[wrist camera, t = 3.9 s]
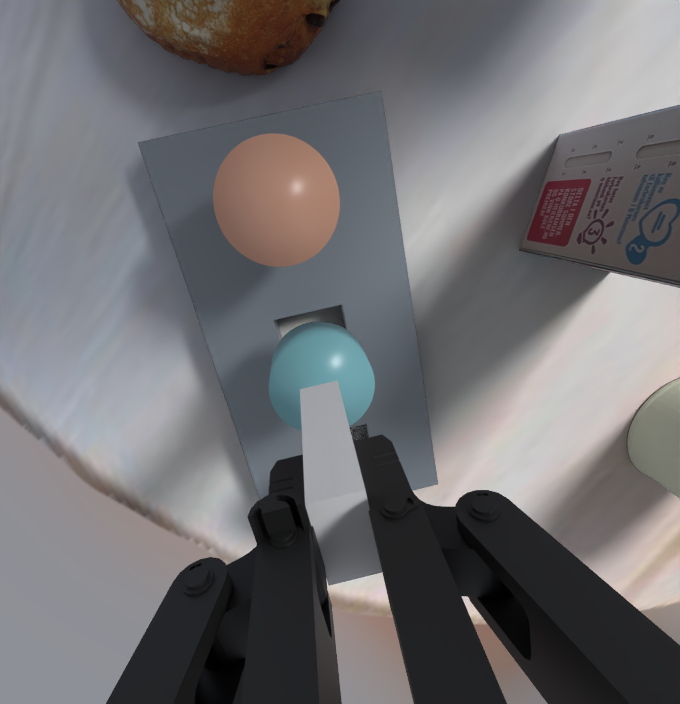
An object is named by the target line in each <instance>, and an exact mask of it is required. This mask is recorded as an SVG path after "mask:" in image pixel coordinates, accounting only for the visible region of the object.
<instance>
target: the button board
mask: <svg viewBox="0 0 680 704" xmlns="http://www.w3.org/2000/svg"><path fill="white" fill-rule="evenodd" d="M269 133H274V134H284V135H289V136H292V137H295V138H298V139H300V140H302V141H304V142H306V143H307V144H309V145H310V146H312V147H313V148H314V149H315V150H316V151H318V152H319V154H320V155H321V156H322V157H323V158H324V159H325V161H326V162H327V163H328V165H329V166H330V168H331V170H332V172H333V174H334V176H335V179H336V182H337V185H338V189H339V196H340V211H339V217H338V222H337V225H336V228H335V230H334V232H333V234H332V236H331V238H330V240H329V241H328V242H327V244H326V245H325V246H324V247H323V248H322V249H321V251H319V252H318V253H317V254H316V255H315V256H313V257H312V258H310V259H308V260H307V261H304V262H302V263H300V264H296V265H293V266H286V267H273V266H267V265H263V264H260V263H257V262H254V261H252V260H250V259H249V258H247V257H245V256H244V255H242V254H241V253H240V252H239V251H237V250H236V249H235V248H234V247H233V246H232V245H231V244H230V242H229V241H228V240H227V238H226V237H225V236H224V234H223V232H222V230H221V228H220V226H219V224H218V221H217V219H216V215H215V211H214V204H213V189H214V182H215V179H216V175H217V172H218V170H219V168H220V166H221V164H222V162H223V161H224V159H225V158H226V156H227V155H228V154H229V153H230V152H231V151H232V150H233V149H234V148H235V147H236V146H237V145H239V144H240V143H242V142H243V141H245V140H247V139H249V138H252V137H254V136H258V135H262V134H269ZM138 144H139V147H140V150H141V153H142V156H143V159H144V162H145V165H146V168H147V171H148V173H149V176H150V179H151V182H152V185H153V188H154V191H155V194H156V197H157V200H158V203H159V206H160V209H161V212H162V214H163V217H164V220H165V223H166V226H167V229H168V232H169V235H170V238H171V241H172V244H173V247H174V250H175V252H176V255H177V258H178V261H179V264H180V267H181V270H182V273H183V276H184V279H185V282H186V285H187V288H188V290H189V293H190V296H191V299H192V302H193V305H194V308H195V311H196V314H197V317H198V320H199V323H200V326H201V329H202V331H203V334H204V337H205V340H206V343H207V346H208V349H209V352H210V355H211V358H212V361H213V364H214V367H215V369H216V372H217V375H218V378H219V381H220V384H221V387H222V390H223V393H224V396H225V399H226V402H227V405H228V407H229V410H230V413H231V416H232V419H233V422H234V425H235V428H236V431H237V434H238V437H239V440H240V443H241V446H242V448H243V451H244V454H245V457H246V460H247V463H248V466H249V469H250V472H251V475H252V478H253V481H254V484H255V486H256V489H257V492H258V495H259V498H260V500H261V499H262V498H264V497H265V496H267V495H268V494H269V485H270V484H269V479H270V471H271V470H272V468H273V466H274V465H275V463H276V462H277V460H281V459H286V458H290V457H294V456H298V455H302V454H303V448H302V431H299V430H297V429H295V428H293V427H291V426H290V425H288V424H287V423H286V422H284V421H283V420H282V419H281V418H280V417H279V415H278V414H277V413H276V411H275V409H274V407H273V405H272V403H271V400H270V396H269V378H270V370H271V362H272V357H273V354H274V351H275V349H276V347H277V345H278V343H279V342H280V340H281V339H282V336H281V333H280V329H279V325H278V322H277V319H281V318H285V317H290V316H294V315H299V314H303V313H307V312H312V311H316V310H321V309H325V308H329V307H334V306H338V305H340V307H341V312H342V317H343V322H344V326H345V329H347V330H348V331H349V332H351V333H352V334H353V335H354V336H355V337H356V338H357V340H358V341H359V343H360V344H361V346H362V348H363V350H364V352H365V354H366V357H367V359H368V361H369V363H370V365H371V367H372V370H373V373H374V379H375V390H374V395H373V399H372V401H371V404H370V406H369V407H368V409H367V411H366V412H365V413H364V414H363V416H362V417H361V418H360V419H359V420H358V421H356V422H355V423H354V424H352V425H351V426H349V428H352V427H356V426H360V425H364V424H365V426H366V431H367V436H368V438H369V437H373V436H377V435H384V436H385V437H386V438H388V439H389V440H390V441H392V443H393V446H394V448H395V451H396V453H397V455H398V458H399V461H400V463H401V465H402V467H403V470H404V472H405V475H406V477H407V479H408V482H409V484H410V487H411V489H412V490H416V489H420V488H425V487H429V486H433V485H437V484H438V480H437V473H436V466H435V459H434V452H433V445H432V439H431V432H430V425H429V418H428V411H427V404H426V397H425V390H424V383H423V376H422V369H421V362H420V355H419V348H418V342H417V335H416V328H415V321H414V314H413V307H412V300H411V293H410V286H409V279H408V272H407V265H406V258H405V252H404V245H403V238H402V231H401V224H400V217H399V210H398V203H397V196H396V189H395V182H394V175H393V168H392V162H391V155H390V148H389V141H388V134H387V127H386V120H385V113H384V106H383V99H382V92H381V91H378V92H374V93H369V94H364V95H360V96H355V97H350V98H345V99H341V100H336V101H331V102H327V103H322V104H317V105H312V106H308V107H303V108H298V109H294V110H289V111H284V112H280V113H275V114H270V115H265V116H261V117H256V118H251V119H247V120H242V121H237V122H232V123H228V124H223V125H218V126H214V127H209V128H204V129H199V130H195V131H190V132H185V133H181V134H176V135H171V136H166V137H162V138H157V139H152V140H148V141H143V142H138Z"/></svg>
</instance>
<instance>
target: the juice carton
mask: <svg viewBox="0 0 680 704" xmlns="http://www.w3.org/2000/svg"><path fill="white" fill-rule="evenodd" d="M519 250H520V251H524V252H528V253H533V254H537V255H541V256H545V257H549V258H554V259H558V260H562V261H566V262H570V263H574V264H579V265H583V266H587V267H591V268H595V269H600V270H604V271H608V272H612V273H617V274H621V275H626V276H630V277H634V278H639V279H643V280H648V281H652V282H656V283H661V284H665V285H670V286H674V287H679V288H680V105H677V106H673V107H669V108H665V109H660V110H656V111H652V112H648V113H644V114H640V115H636V116H632V117H628V118H624V119H620V120H616V121H612V122H608V123H604V124H600V125H596V126H592V127H588V128H584V129H580V130H576V131H572V132H568V133H564V134H560V136H559V139H558V141H557V144H556V147H555V150H554V153H553V156H552V158H551V161H550V164H549V167H548V170H547V172H546V175H545V178H544V181H543V184H542V187H541V189H540V192H539V195H538V198H537V201H536V204H535V206H534V209H533V212H532V215H531V218H530V221H529V223H528V226H527V229H526V232H525V235H524V238H523V240H522V243H521V246H520V249H519Z"/></svg>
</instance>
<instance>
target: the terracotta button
mask: <svg viewBox="0 0 680 704" xmlns="http://www.w3.org/2000/svg"><path fill="white" fill-rule="evenodd" d="M213 204H214V211H215V215H216V219H217V221H218V224H219V226H220V228H221V230H222V232H223V234H224V236H225V237H226V238H227V240H228V241H229V242H230V244H231V245H232V246H233V247H234V248H235V249H236V250H237V251H239V252H240V253H241V254H242V255H244V256H245V257H247V258H249V259H250V260H252V261H254V262H257V263H260V264H263V265H267V266H273V267H286V266H293V265H296V264H300V263H302V262H304V261H307V260H308V259H310V258H312V257H313V256H315V255H316V254H317V253H318V252H319V251H321V249H322V248H323V247H324V246H325V245H326V244H327V242H328V241H329V240H330V238H331V236H332V234H333V232H334V230H335V228H336V225H337V222H338V217H339V211H340V196H339V189H338V185H337V182H336V179H335V176H334V174H333V172H332V170H331V168H330V166H329V165H328V163H327V162H326V161H325V159H324V158H323V157H322V156H321V155H320V154H319V152H318V151H316V150H315V149H314V148H313V147H312V146H310V145H309V144H307V143H306V142H304V141H302V140H300V139H298V138H295V137H292V136H289V135H284V134H274V133H269V134H262V135H258V136H254V137H252V138H249V139H247V140H245V141H243V142H242V143H240V144H239V145H237V146H236V147H235V148H234V149H233V150H232V151H231V152H230V153H229V154H228V155H227V156H226V158H225V159H224V161H223V162H222V164H221V166H220V168H219V170H218V172H217V175H216V179H215V182H214V189H213Z"/></svg>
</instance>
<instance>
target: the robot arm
mask: <svg viewBox="0 0 680 704" xmlns="http://www.w3.org/2000/svg"><path fill="white" fill-rule="evenodd" d="M300 402H301V425H302V448H303V454H302V455H298V456H294V457H290V458H286V459H281V460H277V462H276V463H275V465H274V466H273V468H272V470H271V471H270V479H269V484H270V485H269V494H268V495H267V496H265V497H264V498H262V499H261V500H259V501H258V502H257V503H256V504H255V505H254V506H253V507H252V508H251V510H250V512H249V515H248V520H249V522H250V525H251V528H252V531H253V533H254V536H255V539H256V542H257V546H256V547H255V548H254V549H253V550H252V551H251V552H249V553H248V554H246V555H245V556H243V557H241V558H240V559H238V560H236V561H234V562H232V563H230V564H228V565H226V564H225V563H224V562H223V561H222V560H220V559H219V558H212V557H209V558H205V559H200V560H198V561H196V562H194V563H192V564H190V565H189V566H188V567H186V568H185V569H184V570H183V571H182V572H180V573H179V575H178V576H177V577H176V579H175V580H174V581H173V583H172V585H171V587H170V588H169V590H168V592H167V594H166V596H165V598H164V600H163V601H162V603H161V605H160V607H159V608H158V610H157V612H156V614H155V616H154V618H153V619H152V621H151V623H150V625H149V627H148V628H147V630H146V632H145V634H144V636H143V637H142V639H141V641H140V643H139V645H138V646H137V648H136V650H135V652H134V654H133V656H132V657H131V659H130V661H129V663H128V665H127V666H126V668H125V670H124V672H123V674H122V675H121V677H120V679H119V681H118V683H117V684H116V686H115V688H114V690H113V692H112V694H111V696H110V697H109V699H108V701H107V703H106V704H342V703H341V693H340V684H339V673H338V664H337V654H336V644H335V634H334V624H333V614H332V605H331V601H330V598H329V594H328V591H327V581H328V585H333V584H337V583H341V582H345V581H349V580H353V579H357V578H361V577H365V576H369V575H373V574H377V573H381V572H383V576H384V581H385V585H386V589H387V594H388V598H389V603H390V607H391V612H392V614H393V619H394V623H395V627H396V631H397V635H398V639H399V643H400V648H401V652H402V656H403V660H404V664H405V668H406V672H407V676H408V681H409V685H410V689H411V693H412V697H413V702H414V704H507V703H506V701H505V698H504V696H503V694H502V691H501V689H500V687H499V684H498V682H497V680H496V677H495V675H494V672H493V670H492V668H491V665H490V663H489V661H488V658H487V656H486V654H485V651H484V649H483V646H482V644H481V642H480V639H479V637H478V635H477V632H476V630H475V628H474V625H473V623H472V621H471V618H470V616H469V614H468V611H467V609H466V606H465V604H464V602H463V599H462V597H461V596H468V597H469V599H470V601H471V603H472V604H473V605H474V607H475V608H476V609H477V610H478V612H479V613H480V614H481V616H482V617H483V618H484V620H485V621H486V622H487V624H488V625H489V626H490V628H491V629H492V630H493V632H494V633H495V634H496V635H497V637H498V638H499V640H500V641H501V642H502V643H503V645H504V646H505V647H506V649H507V650H508V652H509V653H510V654H511V655H512V657H513V658H514V659H515V661H516V662H517V663H518V665H519V666H520V667H521V669H522V670H523V671H524V672H525V674H526V675H527V676H528V678H529V679H530V681H531V682H532V683H533V685H534V686H535V687H536V689H537V690H538V691H539V692H540V694H541V695H542V697H543V698H544V699H545V700H546V702H547V703H548V704H680V645H679V644H677V643H676V642H675V641H674V640H673V639H672V638H670V637H669V636H668V635H667V634H666V633H665V632H663V631H662V630H661V629H660V628H659V627H658V626H656V625H655V624H654V623H653V622H652V621H650V620H649V619H648V618H647V617H646V616H645V615H644V614H642V613H641V612H640V611H639V610H638V609H636V608H635V607H634V606H633V605H632V604H631V603H629V602H628V601H627V600H626V599H625V598H624V597H622V596H621V595H620V594H619V593H618V592H617V591H615V590H614V589H613V588H612V587H611V586H609V585H608V584H607V583H606V582H605V581H604V580H602V579H601V578H600V577H599V576H598V575H597V574H595V573H594V572H593V571H592V570H591V569H590V568H588V567H587V566H586V565H585V564H584V563H583V562H581V561H580V560H579V559H578V558H577V557H575V556H574V555H573V554H572V553H571V552H570V551H568V550H567V549H566V548H565V547H564V546H563V545H561V544H560V543H559V542H558V541H557V540H556V539H554V538H553V537H552V536H551V535H550V534H549V533H547V532H546V531H545V530H544V529H543V528H541V527H540V526H539V525H538V524H537V523H536V522H534V521H533V520H532V519H531V518H530V517H529V516H527V515H526V514H525V513H524V512H523V511H522V510H520V509H519V508H518V507H517V506H516V505H514V504H513V503H512V502H511V501H510V500H509V499H507V498H506V497H504V496H502V495H501V494H499V493H496V492H493V491H489V490H476V491H472V492H469V493H466V494H465V495H463V496H462V497H460V498H459V500H458V502H457V503H456V507H441V506H433V505H430V504H426V503H424V502H423V501H421V500H419V499H418V498H417V496H415V495H414V493H413V491H412V489H411V487H410V484H409V482H408V479H407V477H406V475H405V472H404V470H403V467H402V465H401V463H400V461H399V458H398V455H397V453H396V451H395V448H394V446H393V443H392V441H390V440H389V439H388V438H386V437H385V436H384V435H377V436H373V437H369V438H365V439H361V440H356V441H353V439H352V435H351V431H350V428H349V424H348V420H347V416H346V412H345V408H344V404H343V400H342V396H341V392H340V388H339V384H338V381H333V382H329V383H324V384H320V385H316V386H312V387H307V388H303V389H300ZM326 578H327V581H326Z"/></svg>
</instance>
